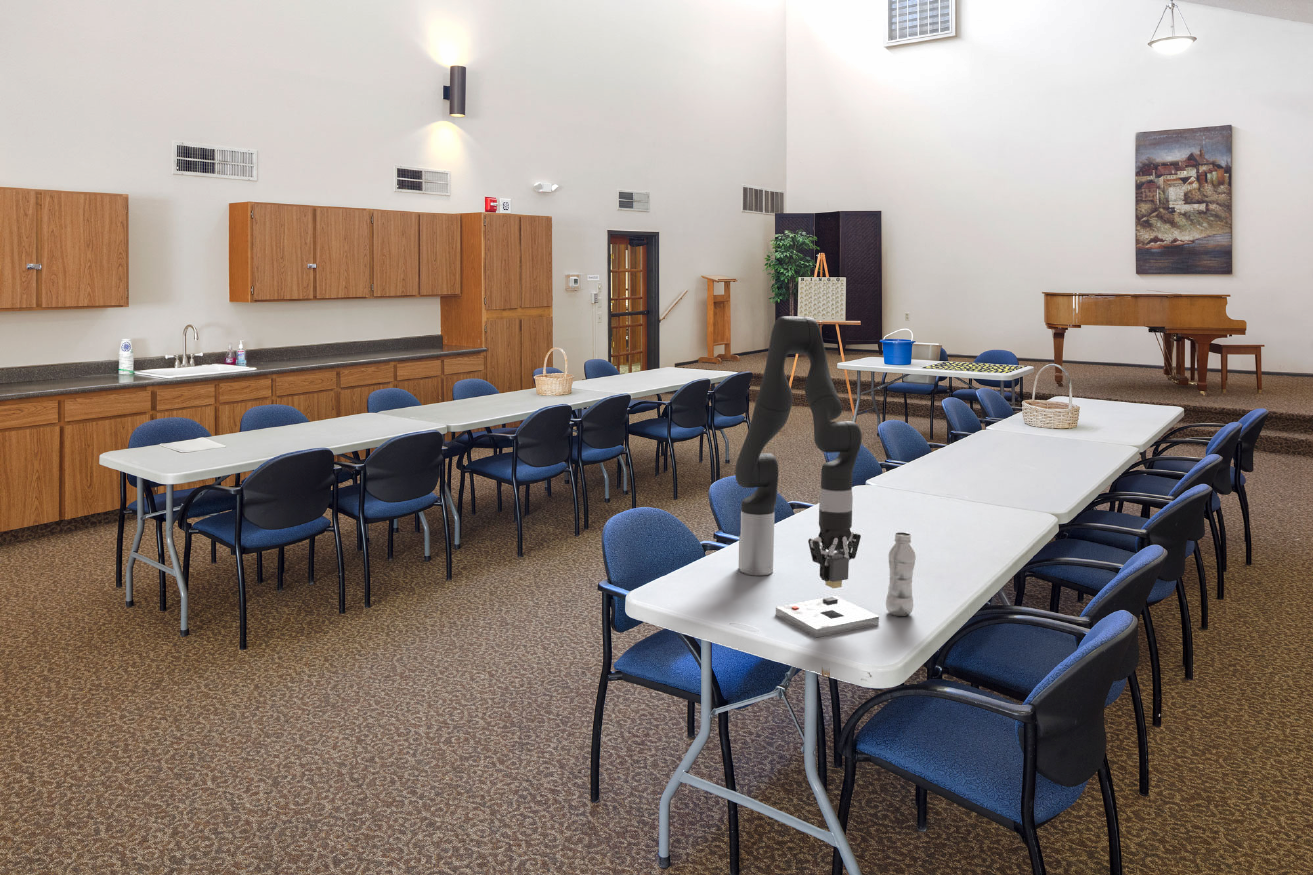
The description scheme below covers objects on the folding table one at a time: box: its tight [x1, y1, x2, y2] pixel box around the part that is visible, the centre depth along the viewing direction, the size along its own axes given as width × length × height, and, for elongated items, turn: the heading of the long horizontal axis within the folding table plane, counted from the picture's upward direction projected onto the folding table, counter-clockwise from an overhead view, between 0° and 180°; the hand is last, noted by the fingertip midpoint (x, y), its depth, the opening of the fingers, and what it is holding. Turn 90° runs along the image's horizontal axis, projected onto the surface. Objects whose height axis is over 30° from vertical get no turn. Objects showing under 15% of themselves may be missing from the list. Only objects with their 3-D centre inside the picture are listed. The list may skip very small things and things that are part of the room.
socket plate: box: [775, 595, 880, 638], centre depth 211 cm, size 16×18×3 cm
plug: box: [824, 551, 850, 589], centre depth 207 cm, size 5×4×8 cm
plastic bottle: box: [885, 531, 917, 617], centre depth 213 cm, size 6×7×20 cm
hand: (833, 578), depth 207 cm, fingers closed on plug, 4 cm apart
